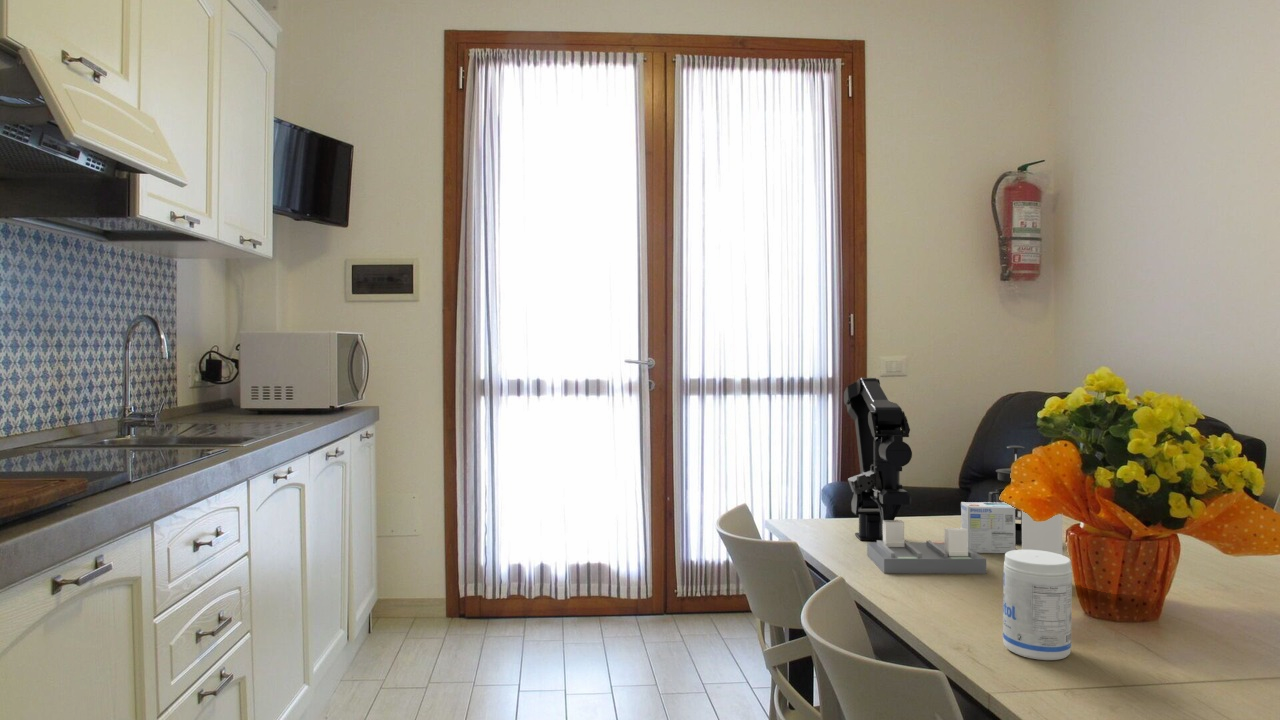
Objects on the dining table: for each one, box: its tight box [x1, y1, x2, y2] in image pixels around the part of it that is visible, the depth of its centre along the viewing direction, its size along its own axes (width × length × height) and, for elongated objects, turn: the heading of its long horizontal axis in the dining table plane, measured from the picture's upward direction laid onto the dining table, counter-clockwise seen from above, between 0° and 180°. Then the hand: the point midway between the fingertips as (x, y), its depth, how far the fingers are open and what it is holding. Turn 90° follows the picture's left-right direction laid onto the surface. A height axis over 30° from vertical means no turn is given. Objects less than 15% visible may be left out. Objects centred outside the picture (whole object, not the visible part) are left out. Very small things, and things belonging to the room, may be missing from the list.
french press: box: [988, 445, 1026, 546], centre depth 202 cm, size 12×9×23 cm
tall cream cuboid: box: [944, 527, 968, 556], centre depth 176 cm, size 3×4×5 cm
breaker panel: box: [866, 539, 987, 575], centre depth 181 cm, size 15×21×4 cm
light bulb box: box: [960, 501, 1016, 554], centre depth 193 cm, size 11×7×11 cm, turn 84°
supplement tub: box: [1002, 549, 1073, 661], centre depth 128 cm, size 10×10×15 cm
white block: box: [882, 519, 905, 547], centre depth 185 cm, size 3×4×5 cm
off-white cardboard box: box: [1021, 511, 1063, 555], centre depth 165 cm, size 7×7×19 cm
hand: (886, 529), depth 190 cm, fingers closed
